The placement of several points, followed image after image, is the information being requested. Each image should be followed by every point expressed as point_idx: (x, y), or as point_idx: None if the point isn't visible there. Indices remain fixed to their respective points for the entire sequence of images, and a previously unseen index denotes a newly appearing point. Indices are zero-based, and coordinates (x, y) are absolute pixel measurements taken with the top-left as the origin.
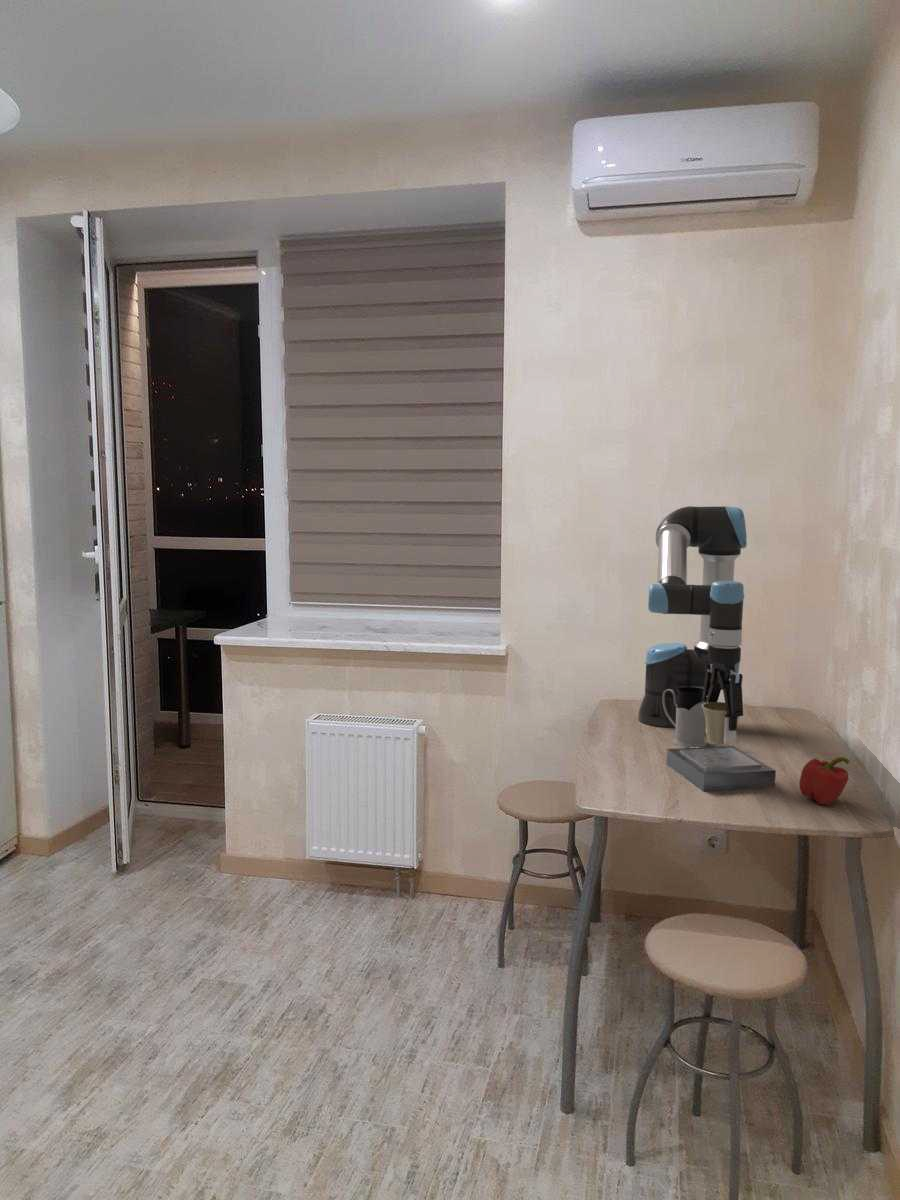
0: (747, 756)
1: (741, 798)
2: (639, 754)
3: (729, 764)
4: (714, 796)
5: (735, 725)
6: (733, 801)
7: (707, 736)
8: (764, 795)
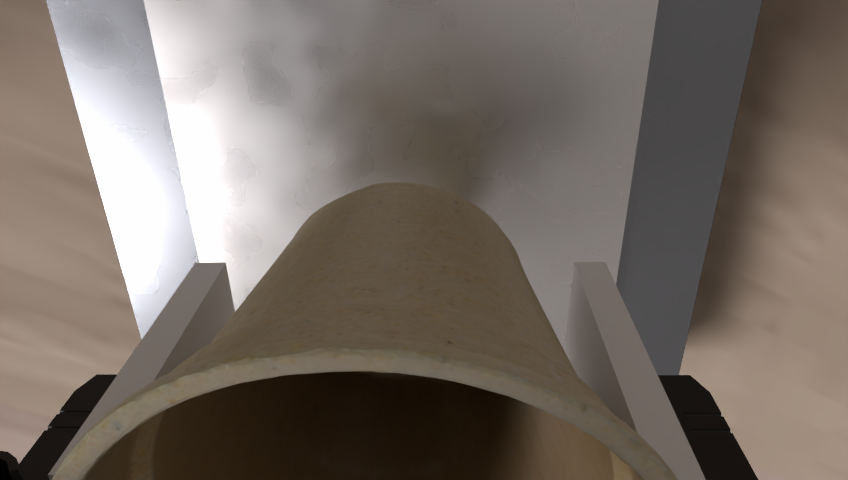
0: None
1: (808, 227)
2: (27, 412)
3: (578, 229)
4: (724, 337)
5: (724, 437)
6: (826, 285)
7: (378, 406)
8: (828, 70)
